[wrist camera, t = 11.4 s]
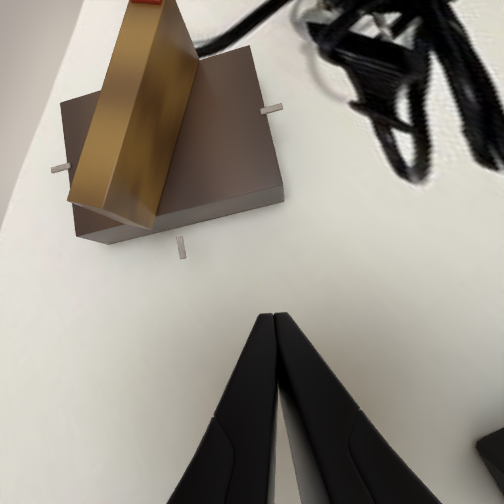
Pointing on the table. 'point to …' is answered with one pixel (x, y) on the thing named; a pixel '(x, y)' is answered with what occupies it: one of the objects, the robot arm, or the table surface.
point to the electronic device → (493, 455)
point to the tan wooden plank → (137, 115)
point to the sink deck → (196, 153)
